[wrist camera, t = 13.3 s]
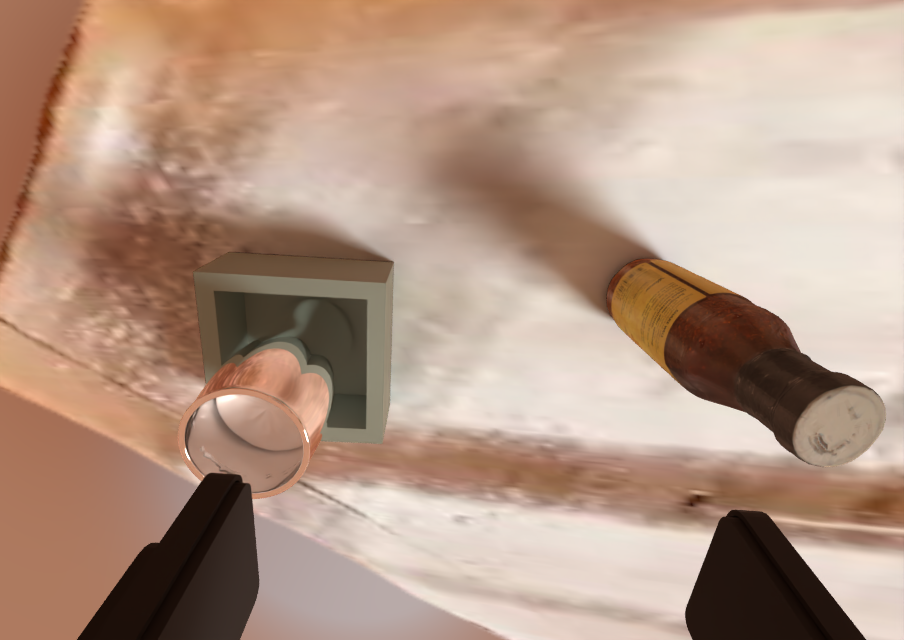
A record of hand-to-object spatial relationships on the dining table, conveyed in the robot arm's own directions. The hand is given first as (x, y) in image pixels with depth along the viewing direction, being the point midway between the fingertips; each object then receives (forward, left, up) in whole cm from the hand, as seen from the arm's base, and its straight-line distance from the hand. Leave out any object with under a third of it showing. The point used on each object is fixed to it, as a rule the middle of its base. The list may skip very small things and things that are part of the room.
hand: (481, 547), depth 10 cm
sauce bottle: (+3, +15, -30) cm, 34 cm away
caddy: (+8, -11, -29) cm, 32 cm away
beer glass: (+8, -10, -29) cm, 32 cm away
